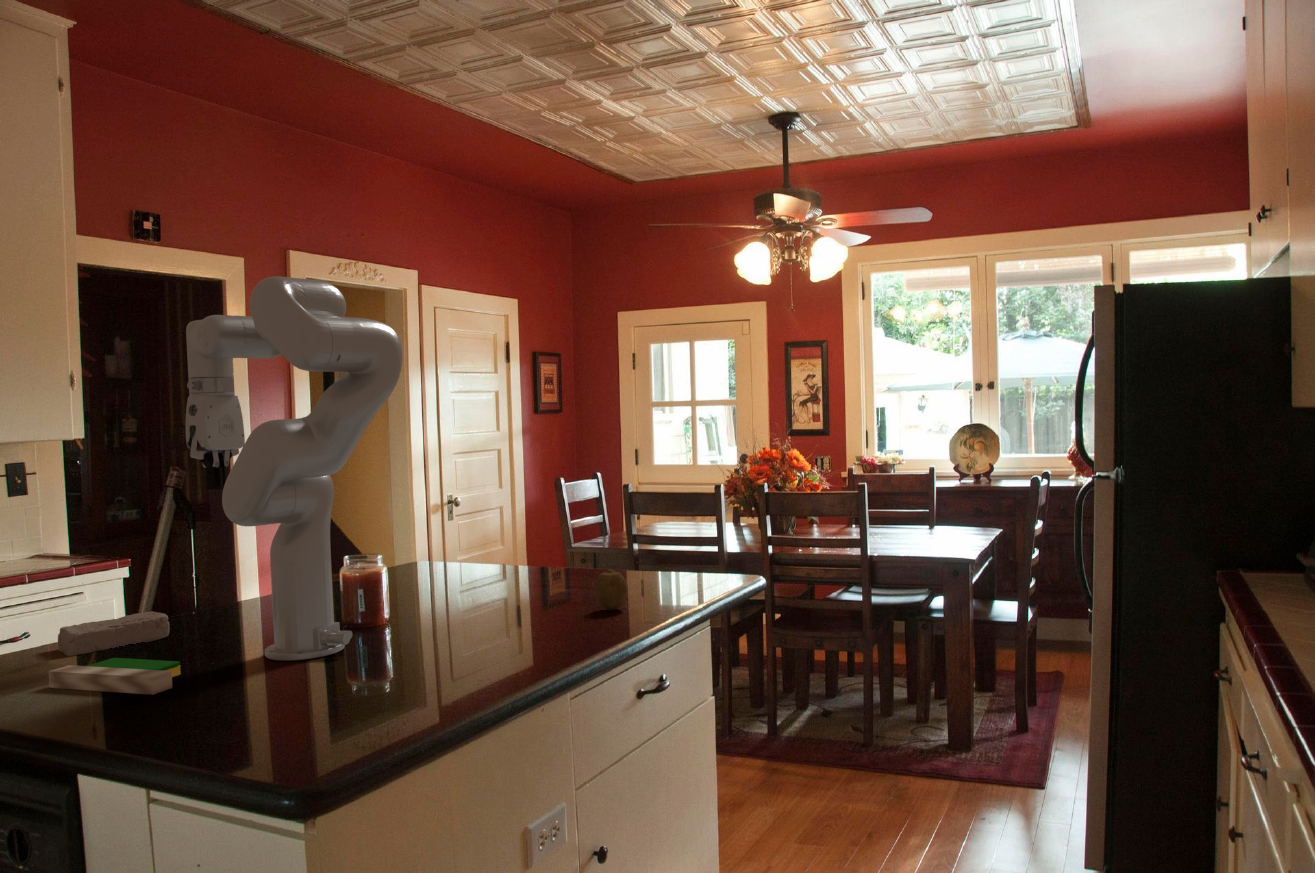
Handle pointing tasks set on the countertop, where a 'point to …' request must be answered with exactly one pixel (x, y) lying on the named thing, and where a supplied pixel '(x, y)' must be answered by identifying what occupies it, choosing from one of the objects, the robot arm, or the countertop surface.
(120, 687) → the batten
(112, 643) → the brick
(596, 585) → the fruit
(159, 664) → the dish sponge
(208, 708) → the countertop surface
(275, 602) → the robot arm
